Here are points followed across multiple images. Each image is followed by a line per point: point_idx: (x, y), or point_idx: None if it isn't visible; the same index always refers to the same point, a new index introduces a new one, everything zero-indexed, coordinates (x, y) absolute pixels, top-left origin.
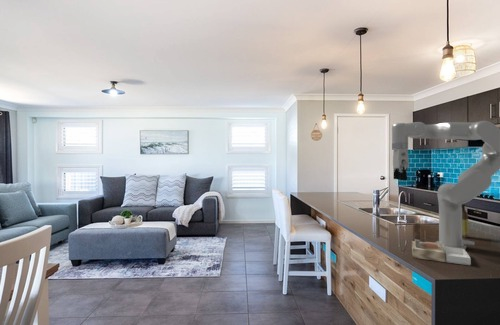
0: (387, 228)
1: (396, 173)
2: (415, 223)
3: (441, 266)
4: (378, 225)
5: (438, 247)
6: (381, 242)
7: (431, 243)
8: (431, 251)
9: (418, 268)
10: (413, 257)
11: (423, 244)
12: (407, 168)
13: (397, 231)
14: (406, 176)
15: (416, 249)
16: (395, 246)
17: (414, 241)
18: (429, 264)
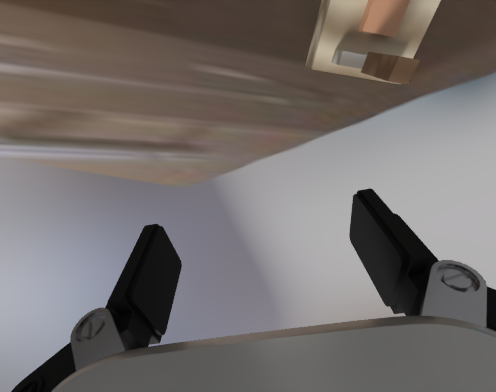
0: (46, 109)
1: (158, 304)
2: (403, 78)
3: (461, 11)
4: (17, 137)
5: None
6: (256, 143)
7: (387, 12)
8: (426, 27)
9: (464, 81)
10: None
11: (354, 36)
12: (427, 316)
13: (73, 77)
14: (390, 218)
15: None
16: (287, 110)
17: (319, 61)
18: (441, 44)
